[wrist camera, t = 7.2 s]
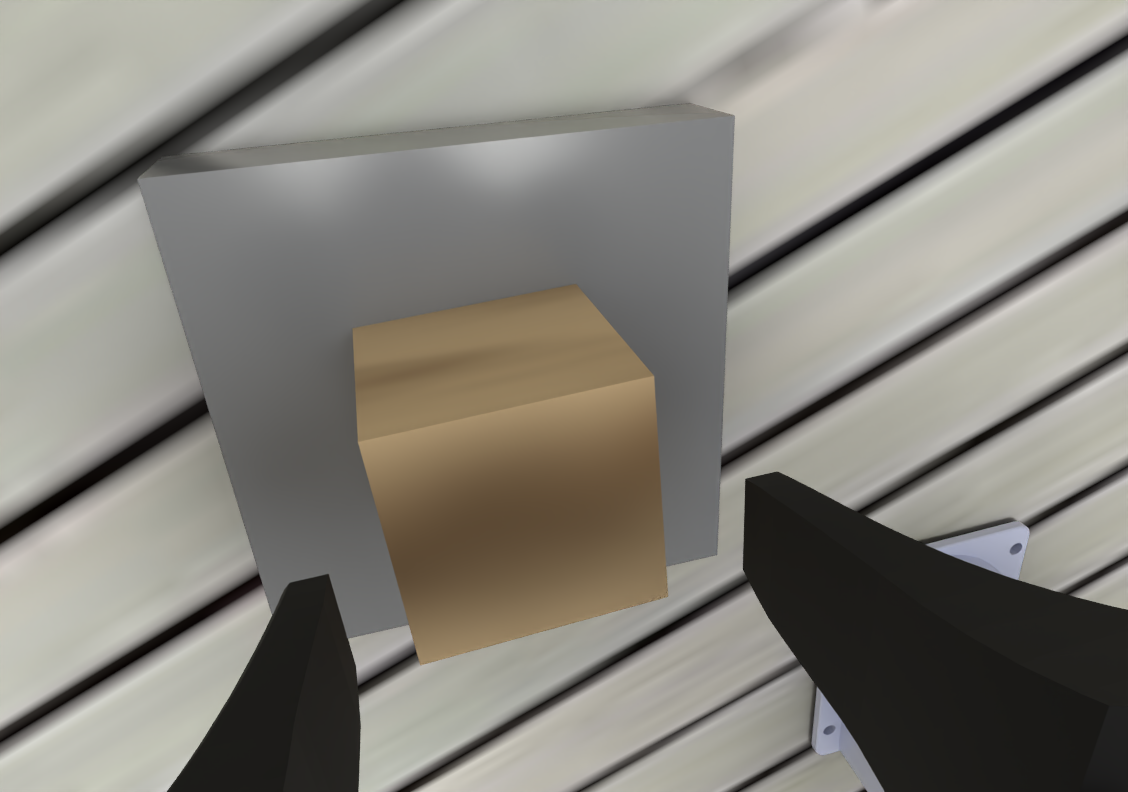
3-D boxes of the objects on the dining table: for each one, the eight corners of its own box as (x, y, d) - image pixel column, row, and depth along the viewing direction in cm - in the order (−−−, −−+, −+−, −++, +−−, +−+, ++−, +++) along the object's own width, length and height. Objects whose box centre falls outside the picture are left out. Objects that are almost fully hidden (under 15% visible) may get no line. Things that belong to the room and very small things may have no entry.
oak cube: (596, 467, 20) (668, 596, 16) (401, 515, 19) (419, 665, 15) (575, 283, 18) (653, 376, 13) (352, 328, 17) (357, 441, 12)
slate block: (677, 497, 25) (717, 554, 22) (289, 578, 23) (283, 653, 20) (681, 100, 19) (734, 115, 17) (167, 152, 17) (137, 178, 14)
